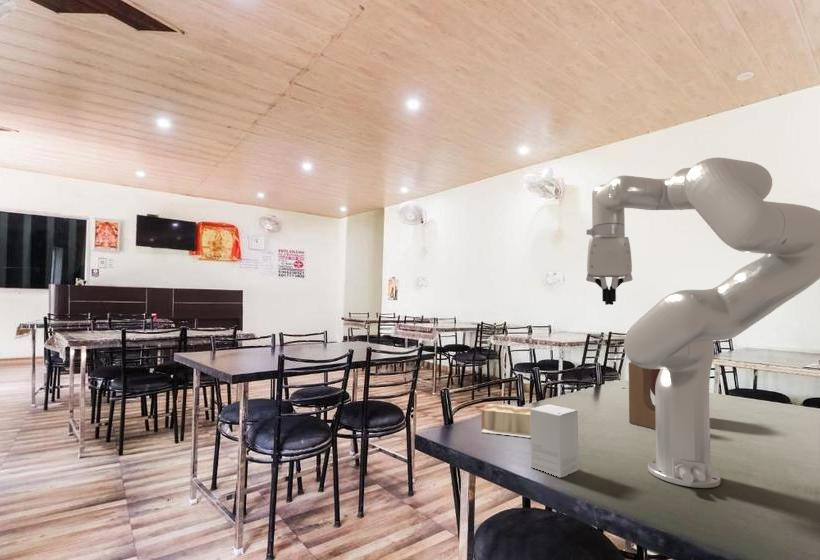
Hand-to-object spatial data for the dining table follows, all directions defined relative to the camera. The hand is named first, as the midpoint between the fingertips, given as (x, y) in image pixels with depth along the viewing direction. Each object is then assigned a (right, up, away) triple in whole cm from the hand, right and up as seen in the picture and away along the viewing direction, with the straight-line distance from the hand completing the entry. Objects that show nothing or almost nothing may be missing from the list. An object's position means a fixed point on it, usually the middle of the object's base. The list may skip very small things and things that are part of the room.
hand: (609, 304), depth 109 cm
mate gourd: (+32, -37, +25) cm, 55 cm away
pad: (-23, -35, +10) cm, 43 cm away
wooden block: (+18, -36, +15) cm, 43 cm away
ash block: (-15, -33, +8) cm, 36 cm away
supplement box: (-20, -34, -18) cm, 44 cm away
